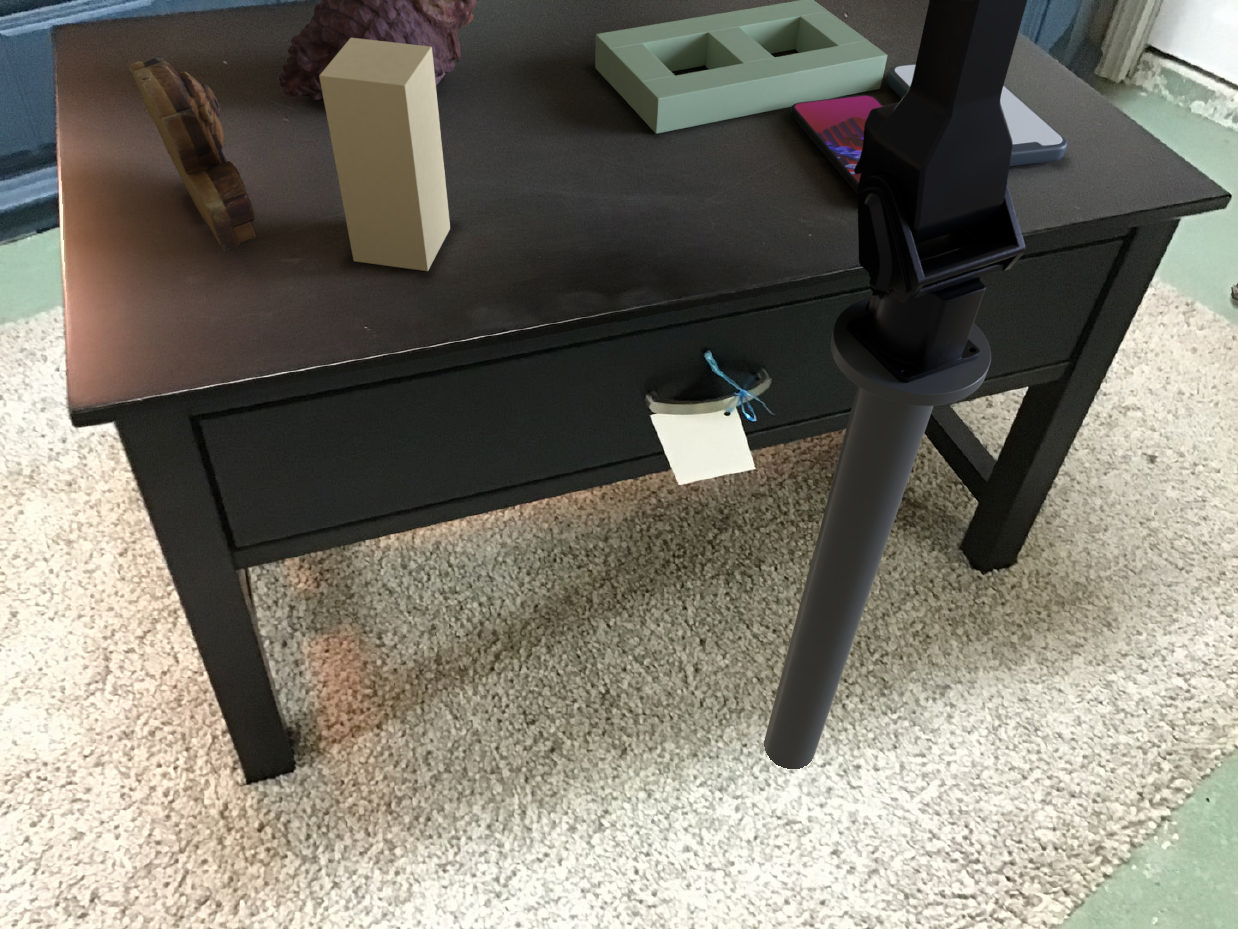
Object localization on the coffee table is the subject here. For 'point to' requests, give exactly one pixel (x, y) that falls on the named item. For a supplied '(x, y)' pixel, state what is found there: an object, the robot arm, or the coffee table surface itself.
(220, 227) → the wooden carving
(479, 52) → the coffee table surface
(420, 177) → the cream rectangular block
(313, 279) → the coffee table surface
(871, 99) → the smartphone
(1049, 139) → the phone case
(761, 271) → the coffee table surface
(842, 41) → the block
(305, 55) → the pine cone
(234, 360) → the coffee table surface
